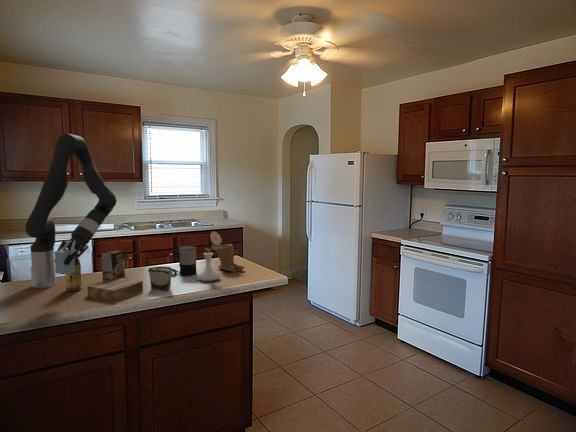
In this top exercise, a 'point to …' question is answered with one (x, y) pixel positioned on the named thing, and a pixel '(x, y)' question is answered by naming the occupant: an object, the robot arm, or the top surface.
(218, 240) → the flower in vase
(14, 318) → the top surface
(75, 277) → the sauce bottle
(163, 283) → the food container
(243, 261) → the top surface
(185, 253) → the milk frother
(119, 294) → the walnut block
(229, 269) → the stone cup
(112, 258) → the coffee box
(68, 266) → the slate block
